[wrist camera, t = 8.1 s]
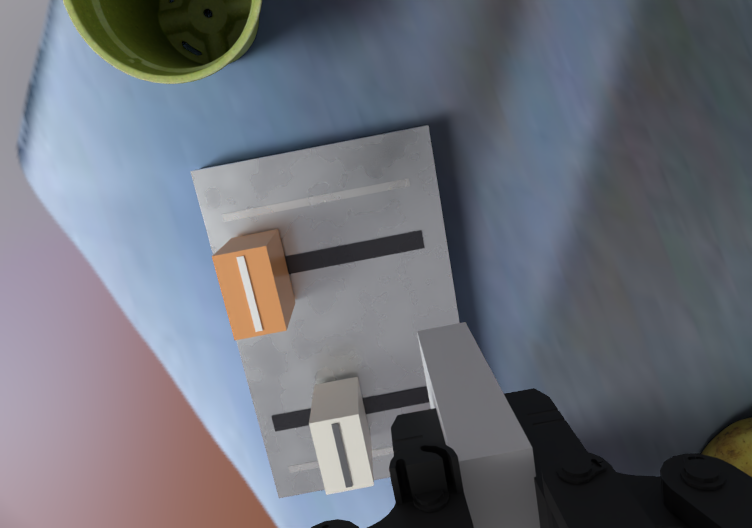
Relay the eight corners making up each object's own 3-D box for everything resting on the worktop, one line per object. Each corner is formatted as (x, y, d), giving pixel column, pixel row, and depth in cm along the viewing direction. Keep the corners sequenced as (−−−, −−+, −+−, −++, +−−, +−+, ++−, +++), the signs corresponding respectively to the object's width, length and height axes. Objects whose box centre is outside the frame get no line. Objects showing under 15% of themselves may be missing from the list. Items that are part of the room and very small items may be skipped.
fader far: (357, 376, 37) (358, 415, 32) (371, 440, 38) (374, 486, 33) (314, 384, 37) (308, 424, 32) (329, 448, 38) (326, 495, 33)
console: (424, 125, 36) (428, 125, 33) (475, 444, 42) (481, 460, 39) (199, 169, 36) (190, 171, 34) (282, 480, 42) (278, 499, 40)
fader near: (278, 229, 34) (265, 246, 29) (295, 302, 36) (286, 331, 31) (231, 238, 34) (211, 256, 29) (250, 311, 36) (234, 341, 31)
